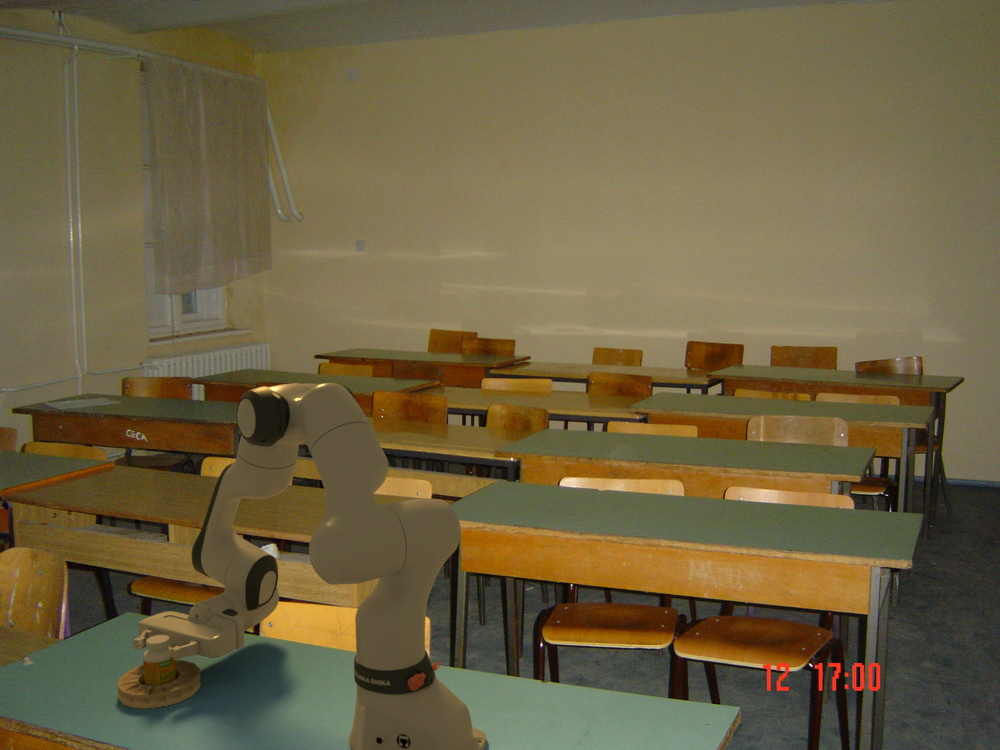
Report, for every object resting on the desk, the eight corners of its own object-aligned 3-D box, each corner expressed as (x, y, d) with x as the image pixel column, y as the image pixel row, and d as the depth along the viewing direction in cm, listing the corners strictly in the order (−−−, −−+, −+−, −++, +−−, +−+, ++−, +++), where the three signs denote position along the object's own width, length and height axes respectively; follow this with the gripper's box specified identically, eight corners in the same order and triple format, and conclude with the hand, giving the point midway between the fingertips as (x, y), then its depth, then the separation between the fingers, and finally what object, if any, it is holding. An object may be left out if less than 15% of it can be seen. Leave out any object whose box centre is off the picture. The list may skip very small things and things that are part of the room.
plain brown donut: (216, 681, 173) (216, 669, 172) (157, 715, 160) (156, 701, 160) (163, 666, 179) (162, 654, 179) (101, 697, 167) (100, 684, 166)
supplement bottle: (162, 698, 166) (158, 647, 165) (138, 693, 168) (135, 642, 167) (183, 685, 171) (179, 635, 170) (160, 680, 173) (156, 631, 172)
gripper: (171, 598, 184) (113, 623, 172) (248, 616, 175) (193, 643, 163) (172, 628, 185) (115, 655, 173) (250, 647, 176) (195, 677, 164)
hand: (153, 650), depth 168 cm, fingers open, 8 cm apart
